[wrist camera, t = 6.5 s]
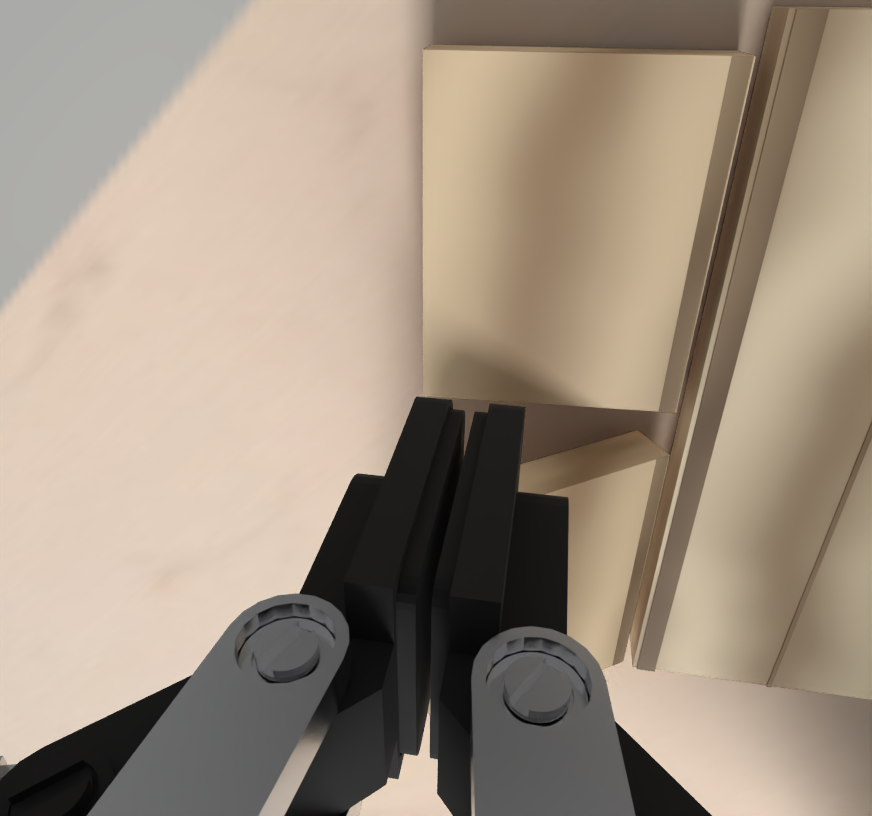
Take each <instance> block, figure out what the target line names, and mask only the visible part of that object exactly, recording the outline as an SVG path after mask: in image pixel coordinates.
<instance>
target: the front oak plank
mask: <svg viewBox="0 0 872 816" xmlns="http://www.w3.org/2000/svg"><path fill="white" fill-rule="evenodd" d="M755 58H756V56H753V55H750V54H747V53H744V52H741V51H732V50H680V49H629V48H577V47H525V46H473V45H429V46H427V47H426V48H424V49H423V396H427V397H442V398H458V399H473V400H488V401H504V402H519V403H534V404H550V405H565V406H580V407H596V408H611V409H627V410H642V411H657V412H668V413H676V412H677V408H678V403H679V399H680V394H681V390H682V385H683V381H684V376H685V372H686V367H687V363H688V358H689V354H690V349H691V345H692V340H693V336H694V331H695V327H696V323H697V318H698V314H699V309H700V305H701V300H702V296H703V291H704V287H705V282H706V278H707V273H708V269H709V264H710V260H711V255H712V251H713V246H714V242H715V237H716V233H717V228H718V224H719V219H720V215H721V210H722V206H723V202H724V197H725V193H726V188H727V184H728V179H729V175H730V170H731V166H732V161H733V157H734V152H735V148H736V143H737V139H738V134H739V130H740V125H741V121H742V116H743V112H744V107H745V103H746V98H747V94H748V89H749V85H750V81H751V76H752V72H753V67H754V63H755Z"/></svg>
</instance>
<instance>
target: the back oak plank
mask: <svg viewBox="0 0 872 816" xmlns="http://www.w3.org/2000/svg"><path fill="white" fill-rule="evenodd" d="M669 457H670V455H669V454H668V453H667V452H665V451H664V450H663V449H662V448H660V447H659V446H658V445H656V444H655V443H654V442H652V441H651V440H650V439H648V438H647V437H646V436H645V435H643V434H642V433H641V432H639V431H638V430H636V431H633V432H629V433H626V434H622V435H619V436H615V437H612V438H609V439H605V440H602V441H598V442H595V443H591V444H588V445H585V446H581V447H578V448H574V449H571V450H567V451H564V452H561V453H557V454H554V455H550V456H547V457H543V458H540V459H537V460H533V461H530V462H526V463H523V464H520V475H519V487H518V492H526V493H535V494H544V495H553V496H562V497H568V499H569V533H568V604H567V635H568V636H570V637H572V638H573V639H574V640H576V641H577V642H579V643H580V644H581V645H583V646H584V647H586V648H587V649H588V651H589V652H590V653H591V654H592V656H593V657H594V658H595V659H596V660H597V662H598V663H599V665H600V667H601V670H603V669H605V668H608V667H610V666H613V665H615V664H618V663H620V662H622V661H623V660H624V656H625V652H626V647H627V643H628V638H629V634H630V629H631V625H632V621H633V616H634V612H635V607H636V603H637V598H638V594H639V590H640V585H641V581H642V576H643V572H644V567H645V563H646V559H647V554H648V550H649V545H650V541H651V536H652V532H653V528H654V523H655V519H656V514H657V510H658V505H659V501H660V497H661V492H662V488H663V483H664V479H665V474H666V470H667V466H668V461H669ZM428 713H429V715H430V703H429V707H428Z"/></svg>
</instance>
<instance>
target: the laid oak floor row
mask: <svg viewBox="0 0 872 816" xmlns="http://www.w3.org/2000/svg"><path fill="white" fill-rule="evenodd" d="M630 642H631V653H632V665H633V667H637V669H641V670H648V671H655V670H660V671H667V672H674V673H681V674H689V675H696V676H703V677H710V678H717V679H724V680H732V681H739V682H746V683H753V684H760V685H766V686H767V687H771V686H775V687H782V688H789V689H796V690H804V691H811V692H818V693H825V694H832V695H840V696H847V697H854V698H861V699H868V700H872V8H861V7H795V6H772V10H771V15H770V19H769V24H768V28H767V32H766V37H765V41H764V46H763V50H762V55H761V59H760V63H759V68H758V72H757V77H756V81H755V85H754V90H753V94H752V99H751V103H750V108H749V112H748V116H747V121H746V125H745V130H744V134H743V138H742V143H741V147H740V152H739V156H738V160H737V165H736V169H735V174H734V178H733V183H732V187H731V191H730V196H729V200H728V205H727V209H726V213H725V218H724V222H723V227H722V231H721V235H720V240H719V244H718V249H717V253H716V258H715V262H714V266H713V271H712V275H711V280H710V284H709V288H708V293H707V297H706V302H705V306H704V310H703V315H702V319H701V324H700V328H699V333H698V337H697V341H696V346H695V350H694V355H693V359H692V363H691V368H690V372H689V377H688V381H687V385H686V390H685V394H684V399H683V403H682V408H681V412H680V416H679V421H678V425H677V430H676V434H675V438H674V443H673V447H672V452H671V456H670V460H669V465H668V469H667V474H666V478H665V483H664V487H663V491H662V496H661V500H660V505H659V509H658V513H657V518H656V522H655V527H654V531H653V536H652V540H651V544H650V549H649V553H648V558H647V562H646V566H645V571H644V575H643V580H642V584H641V588H640V593H639V597H638V602H637V606H636V611H635V615H634V619H633V624H632V628H631V633H630Z"/></svg>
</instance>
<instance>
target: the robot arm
mask: <svg viewBox="0 0 872 816" xmlns="http://www.w3.org/2000/svg"><path fill="white" fill-rule="evenodd" d="M524 420H525V407H520V406H509V405H499V404H490V406H489V410H488V413H485V412H475V414H474V418H473V422H472V426H471V430H470V435H469V439H468V443H467V447H466V451H465V455H464V432H465V411H464V410H454V409H453V403H452V400H447V399H436V398H426V397H416V398H415V400H414V403H413V405H412V408H411V410H410V413H409V416H408V418H407V421H406V423H405V426H404V428H403V431H402V433H401V436H400V438H399V441H398V444H397V446H396V449H395V451H394V454H393V456H392V459H391V461H390V464H389V466H388V469H387V471H386V474H385V476H376V475H367V474H356V475H354V477H353V479H352V480H351V482H350V484H349V486H348V489H347V491H346V493H345V495H344V497H343V500H342V502H341V504H340V506H339V508H338V510H337V513H336V515H335V517H334V519H333V521H332V524H331V526H330V528H329V530H328V532H327V534H326V537H325V539H324V541H323V543H322V545H321V548H320V550H319V552H318V554H317V556H316V558H315V561H314V563H313V565H312V567H311V569H310V572H309V574H308V576H307V578H306V580H305V582H304V585H303V587H302V589H301V591H300V593H299V594H288V595H278V596H275V597H272V598H269V599H266V600H263V601H260V602H258V603H256V604H255V605H253V606H252V607H250V608H248V609H247V610H245V611H243V612H242V613H241V614H240V615H239V616H238V617H237V618H236V619H235V620H234V621H233V622H232V623H231V624H230V626H229V627H228V628H227V630H226V631H225V632H224V634H223V635H222V636H221V638H220V639H219V640H218V642H217V643H216V644H215V646H214V647H213V648H212V650H211V651H210V652H209V654H208V655H207V656H206V658H205V659H204V660H203V662H202V663H201V664H200V666H199V667H198V668H197V670H196V671H195V672H194V674H193V675H191V676H189V677H187V678H185V679H183V680H181V681H179V682H177V683H175V684H173V685H171V686H169V687H167V688H165V689H163V690H160V691H158V692H156V693H154V694H152V695H150V696H148V697H146V698H144V699H142V700H140V701H138V702H136V703H134V704H132V705H130V706H127V707H125V708H123V709H121V710H119V711H117V712H115V713H113V714H111V715H109V716H107V717H105V718H103V719H101V720H99V721H97V722H94V723H92V724H90V725H88V726H86V727H84V728H82V729H80V730H78V731H76V732H74V733H72V734H70V735H68V736H66V737H64V738H61V739H59V740H57V741H55V742H53V743H51V744H49V745H47V746H45V747H43V748H41V749H40V750H38V751H36V752H35V753H33V754H31V755H30V756H28V757H27V758H25V759H23V760H22V761H20V762H19V763H18V764H14V765H7V763H6V761H5V759H4V757H3V756H0V816H359V814H360V810H361V806H362V800H363V799H365V798H366V797H368V796H369V795H371V794H372V793H374V792H375V791H377V790H378V789H380V788H382V787H383V786H385V785H386V783H387V779H388V777H389V778H394V779H398V778H399V774H400V769H401V765H402V760H403V756H404V754H410V755H416V756H417V755H418V753H419V750H420V746H421V741H422V737H423V732H424V727H425V722H426V717H427V712H428V707H429V703H430V758H434V759H438V783H437V794H438V795H439V797H440V798H441V799H442V801H443V802H444V804H445V805H446V806H447V808H448V809H449V811H450V812H451V813H452V815H453V816H712V815H711V814H710V813H709V812H708V811H707V810H705V809H704V808H703V807H702V806H701V805H700V804H699V803H698V802H697V801H696V800H695V799H694V798H693V797H692V796H691V795H690V794H689V793H688V792H687V791H686V790H685V789H684V788H683V787H682V786H681V785H680V784H679V783H678V782H677V781H676V780H675V779H674V778H673V777H672V776H671V775H670V774H669V773H668V772H667V771H666V770H665V769H664V768H663V767H661V766H660V765H659V764H658V763H657V762H656V761H655V760H654V759H653V758H652V757H651V756H650V755H649V754H648V753H647V752H646V751H645V750H644V749H643V748H642V747H641V746H640V745H639V744H638V743H637V742H636V741H635V740H634V739H633V738H632V737H631V736H630V735H629V734H628V733H627V732H626V731H625V730H624V729H623V728H622V727H621V726H620V725H619V724H618V723H616V722H615V720H614V715H613V711H612V706H611V702H610V697H609V693H608V688H607V684H606V680H605V677H604V675H603V672H602V670H601V667H600V665H599V663H598V662H597V660H596V659H595V658H594V657H593V656H592V654H591V653H590V652H589V651H588V649H587V648H586V647H584V646H583V645H581V644H580V643H579V642H577V641H576V640H574V639H573V638H572V637H570V636H568V635H567V604H568V533H569V499H568V497H562V496H553V495H544V494H535V493H526V492H518V487H519V475H520V464H521V453H522V442H523V431H524ZM463 459H464V460H463Z"/></svg>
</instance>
